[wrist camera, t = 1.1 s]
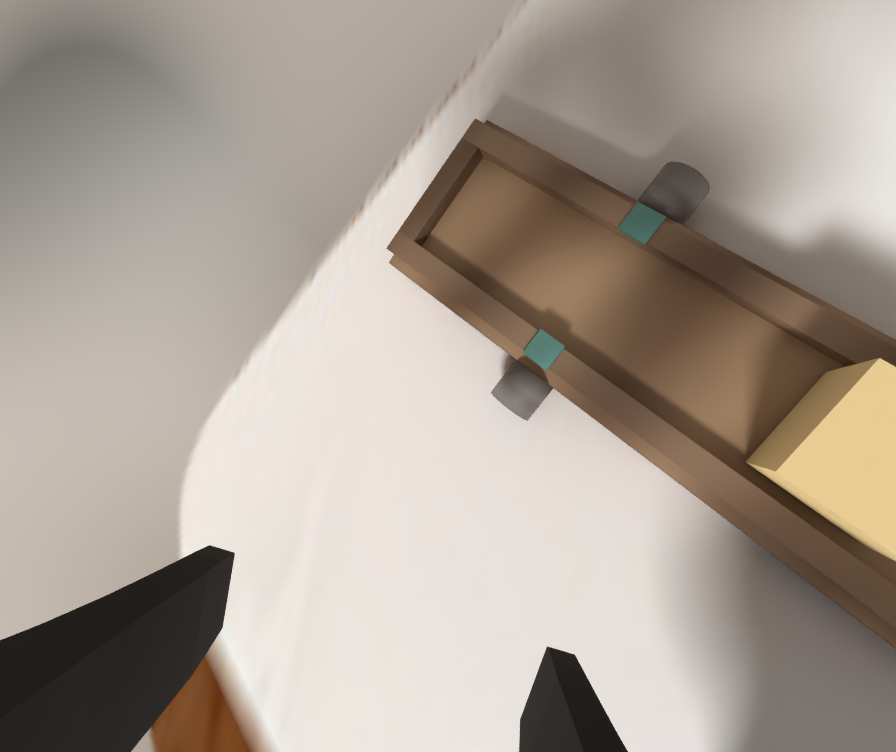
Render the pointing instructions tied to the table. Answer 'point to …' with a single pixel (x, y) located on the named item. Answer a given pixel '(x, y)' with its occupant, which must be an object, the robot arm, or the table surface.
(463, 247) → the balance beam
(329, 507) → the table surface
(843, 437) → the block
